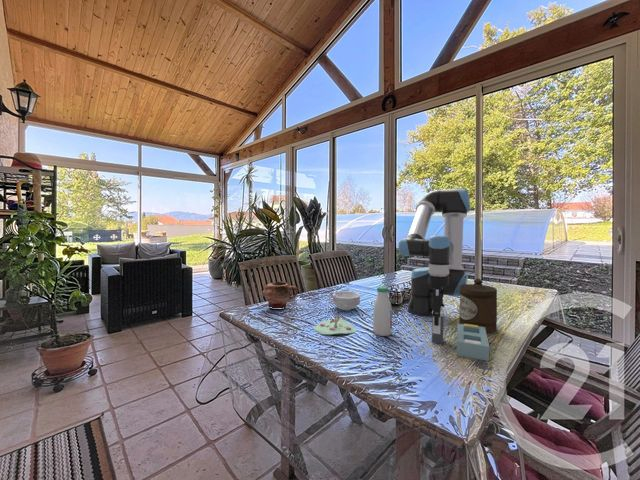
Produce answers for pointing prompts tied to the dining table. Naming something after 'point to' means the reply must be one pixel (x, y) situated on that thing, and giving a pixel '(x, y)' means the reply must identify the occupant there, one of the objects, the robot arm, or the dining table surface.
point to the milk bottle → (382, 313)
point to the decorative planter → (278, 294)
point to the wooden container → (478, 305)
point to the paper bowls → (346, 300)
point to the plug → (439, 337)
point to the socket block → (472, 342)
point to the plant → (334, 327)
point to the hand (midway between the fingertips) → (437, 327)
